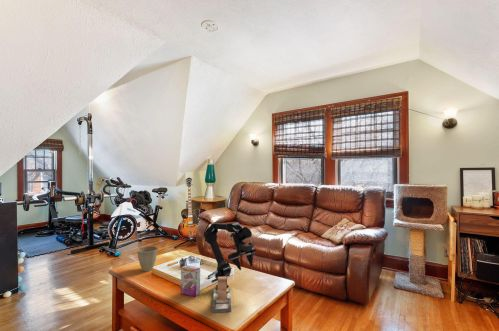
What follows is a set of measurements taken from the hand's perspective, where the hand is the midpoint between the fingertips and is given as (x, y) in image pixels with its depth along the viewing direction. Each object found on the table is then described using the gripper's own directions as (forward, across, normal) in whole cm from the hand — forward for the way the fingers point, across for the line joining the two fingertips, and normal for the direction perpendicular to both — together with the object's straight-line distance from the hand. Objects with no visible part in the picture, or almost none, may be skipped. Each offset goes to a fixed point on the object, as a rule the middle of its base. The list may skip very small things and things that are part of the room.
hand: (246, 268), depth 153 cm
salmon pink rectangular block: (+12, -13, +13) cm, 22 cm away
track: (+14, -13, +14) cm, 23 cm away
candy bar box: (+4, -20, +34) cm, 40 cm away
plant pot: (-22, -24, +84) cm, 90 cm away
